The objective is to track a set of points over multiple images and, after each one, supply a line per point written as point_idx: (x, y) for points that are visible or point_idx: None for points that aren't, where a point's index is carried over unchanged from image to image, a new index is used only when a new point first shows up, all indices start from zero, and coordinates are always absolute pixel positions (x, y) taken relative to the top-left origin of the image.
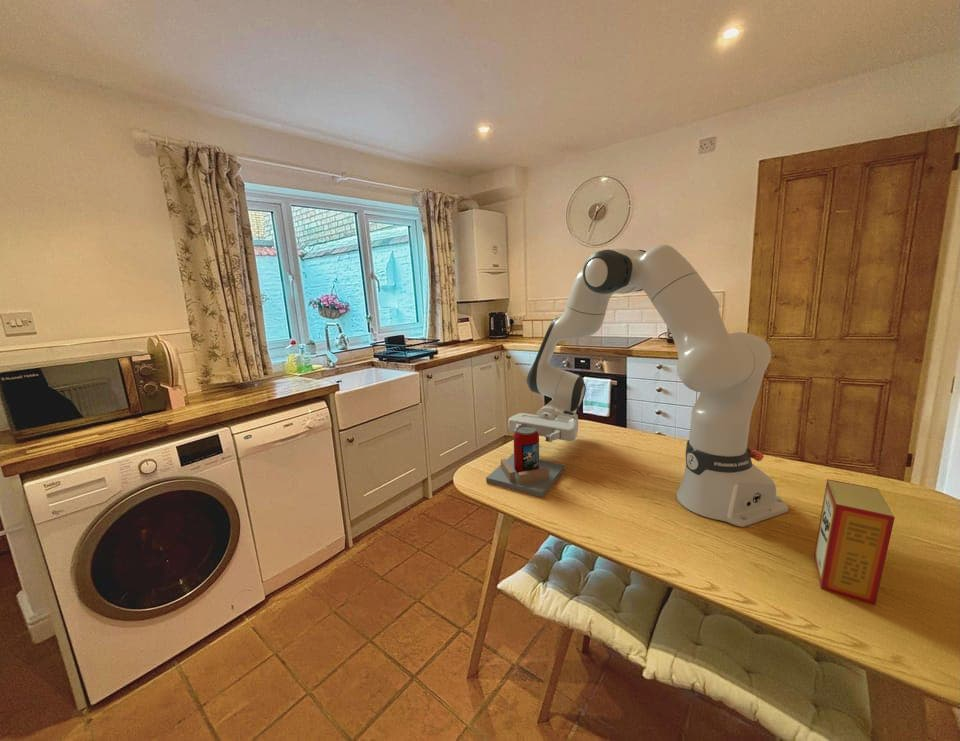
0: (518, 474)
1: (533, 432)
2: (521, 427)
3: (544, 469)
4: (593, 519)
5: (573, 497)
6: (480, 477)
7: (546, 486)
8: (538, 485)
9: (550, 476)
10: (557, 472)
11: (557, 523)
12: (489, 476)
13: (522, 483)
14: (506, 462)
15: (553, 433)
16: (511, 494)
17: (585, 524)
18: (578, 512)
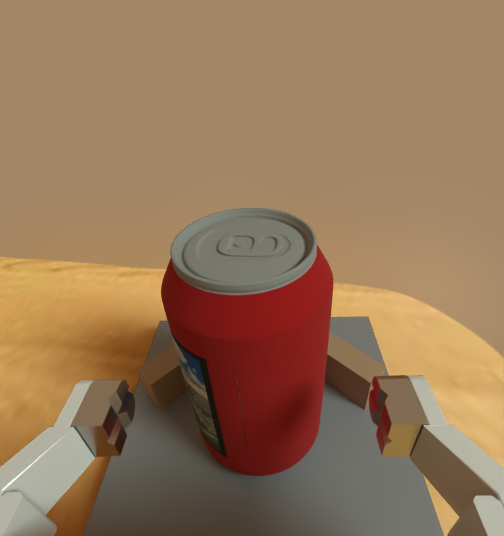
0: None
1: (181, 231)
2: (299, 264)
3: (158, 369)
4: (30, 311)
5: (65, 371)
6: (411, 348)
7: (152, 349)
8: None
9: (143, 418)
10: (111, 469)
11: (118, 276)
12: (364, 325)
13: None
14: (341, 355)
15: (45, 437)
16: None
17: (55, 293)
18: (63, 319)
